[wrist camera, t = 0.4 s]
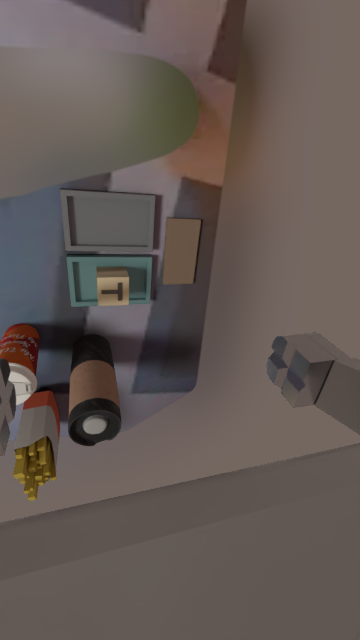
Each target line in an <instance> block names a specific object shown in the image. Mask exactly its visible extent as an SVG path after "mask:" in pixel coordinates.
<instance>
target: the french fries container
mask: <svg viewBox="0 0 360 640" xmlns="http://www.w3.org/2000/svg"><path fill="white" fill-rule="evenodd" d="M59 433H60V422H59V413H58V408H57V404H56V401H55V397H54V394H53V392H52V391H43V392H38V393H33V394H32V395H31V396H30V397H29V398H28V399H27V400H26V401H25V403H24V407H23V412H22V416H21V421H20V425H19V429H18V434H17V438H16V443H15V447H14V450H15V452H16V453H15V457H16V463H15V468H14V473H13V476H14V477H15V478H16V479H18V478H20V480H19V482H20V483H21V484H22V483H25V487H24V494H26V493H28V499H29V501H31V500H35V499H37V491H38V486H40V485H44V483H45V482H46V481H48V479H49V478H50V477H51V481H53V480H56V463H57V454H58V445H59Z"/></svg>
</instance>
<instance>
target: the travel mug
mask: <svg viewBox="0 0 360 640" xmlns="http://www.w3.org/2000/svg"><path fill="white" fill-rule="evenodd" d="M120 429H121V415H120V407H119V399H118V391H117V383H116V375H115V369H114V364H113V359H112V354H111V349H110V345H109V343H108V341H107V340H106V339H105V338H104V337H102V336H99V335H94V334H91V335H86V336H83V337H81V338H80V339H78V340H77V342H76V343H75V345H74V348H73V355H72V365H71V374H70V397H69V423H68V432H69V436H70V438H71V439H72V440H73V441H74V442H76V443H78V444H80V445H84V446H94V445H95V444H96V443H98V442H100V441H104V440H112V439H113V438H115V437H116V436H117V434H118V433H119V431H120Z"/></svg>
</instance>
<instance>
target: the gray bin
mask: <svg viewBox="0 0 360 640" xmlns="http://www.w3.org/2000/svg"><path fill="white" fill-rule="evenodd" d="M60 194H61V205H62V215H63V225H64V235H65V246H66V251H125V252H153V232H154V213H155V195H153V194H139V193H124V192H109V191H94V190H79V189H64V188H61V189H60Z"/></svg>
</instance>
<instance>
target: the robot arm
mask: <svg viewBox="0 0 360 640" xmlns="http://www.w3.org/2000/svg"><path fill="white" fill-rule="evenodd" d="M272 348H273V350H274V352H273V353H272V354H271V356H270V357H269V358H268V362H267V373H268V376H269V378H270V380H271V381H272V382H273V383H274V384H275V385H277V386H279V387H280V388H281V393H282V395H283V396H284V397H285V398H286V399H287V401H288V402H289V403H290V405H291V406H292V407H293V408H294V407H302V406H308V405H315V406H316V407H317V408H319V409H321V410H322V411H324V412H325V413H327V414H328V415H330V416H331V417H333V418H335V419H336V420H338V421H339V422H341V423H342V424H344V425H345V426H347V427H348V428H350V429H352V430H353V431H355V432H356V433H358V434H359V435H360V360H359V359H356V358H353V359H351V358H350V357H349V356H348V355H346V354H345V353H344V352H342V351H341V350H340V349H339V348H337V347H336V346H335V345H334V344H332V343H331V342H330V341H328V340H327V339H326V338H325V337H323V336H322V335H321V334H319V333H316V332H313V333H304V334H299V335H288V336H278V337H276V338H275V340H274V341H273V344H272ZM10 372H11V370H10V366H9V363H8V361H7V360H6V359H0V456H3V455H4V454H5V450H6V447H7V443H8V439H9V435H10V431H9V427H8V424H9V423H10V422H11V421H12V420H13V419H14V415H15V411H16V392H15V387H14V384H13V383H12V382H10V381H9V380H8V379H9V375H10ZM0 640H360V443H358V444H353V445H349V446H345V447H340V448H335V449H332V450H327V451H322V452H318V453H313V454H309V455H305V456H300V457H295V458H291V459H286V460H282V461H277V462H273V463H268V464H264V465H260V466H255V467H250V468H246V469H241V470H237V471H232V472H228V473H223V474H218V475H214V476H209V477H205V478H201V479H196V480H192V481H187V482H182V483H178V484H174V485H169V486H164V487H160V488H155V489H151V490H147V491H142V492H137V493H133V494H128V495H124V496H119V497H115V498H110V499H106V500H101V501H97V502H92V503H88V504H83V505H79V506H75V507H70V508H65V509H61V510H57V511H52V512H47V513H43V514H38V515H34V516H30V517H24V518H20V519H15V520H11V521H6V522H2V523H0Z"/></svg>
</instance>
